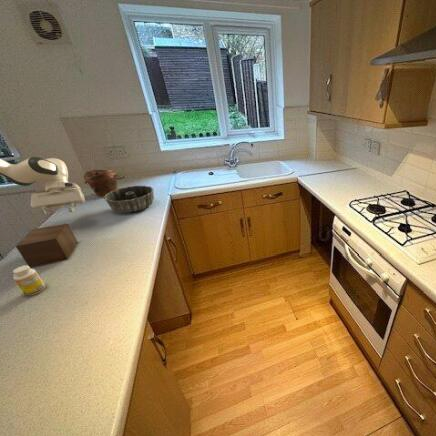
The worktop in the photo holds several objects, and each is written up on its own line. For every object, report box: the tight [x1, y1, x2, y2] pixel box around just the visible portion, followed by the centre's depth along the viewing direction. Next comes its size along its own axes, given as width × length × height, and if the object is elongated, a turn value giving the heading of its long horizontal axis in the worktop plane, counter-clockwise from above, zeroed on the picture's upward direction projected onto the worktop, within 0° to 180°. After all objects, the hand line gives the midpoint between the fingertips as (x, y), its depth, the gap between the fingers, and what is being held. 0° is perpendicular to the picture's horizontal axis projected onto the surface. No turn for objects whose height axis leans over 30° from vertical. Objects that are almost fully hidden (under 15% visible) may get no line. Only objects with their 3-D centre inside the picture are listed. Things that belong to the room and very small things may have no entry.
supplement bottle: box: [12, 264, 46, 296], centre depth 86 cm, size 6×6×10 cm
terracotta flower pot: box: [83, 169, 118, 198], centre depth 170 cm, size 18×20×18 cm
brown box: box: [15, 223, 79, 268], centre depth 106 cm, size 15×13×11 cm
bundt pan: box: [103, 185, 155, 214], centre depth 150 cm, size 26×26×10 cm
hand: (59, 213), depth 119 cm, fingers open, 8 cm apart
